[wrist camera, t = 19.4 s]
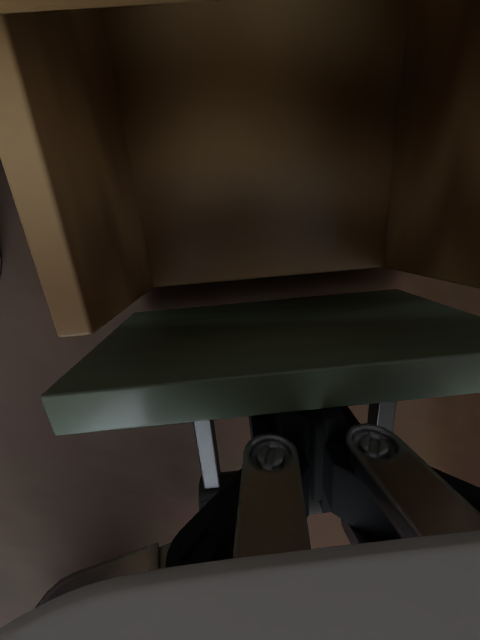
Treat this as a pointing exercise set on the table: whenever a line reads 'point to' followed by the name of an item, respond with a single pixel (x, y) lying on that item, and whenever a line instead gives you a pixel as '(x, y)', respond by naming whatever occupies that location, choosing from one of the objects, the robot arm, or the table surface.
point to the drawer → (247, 202)
